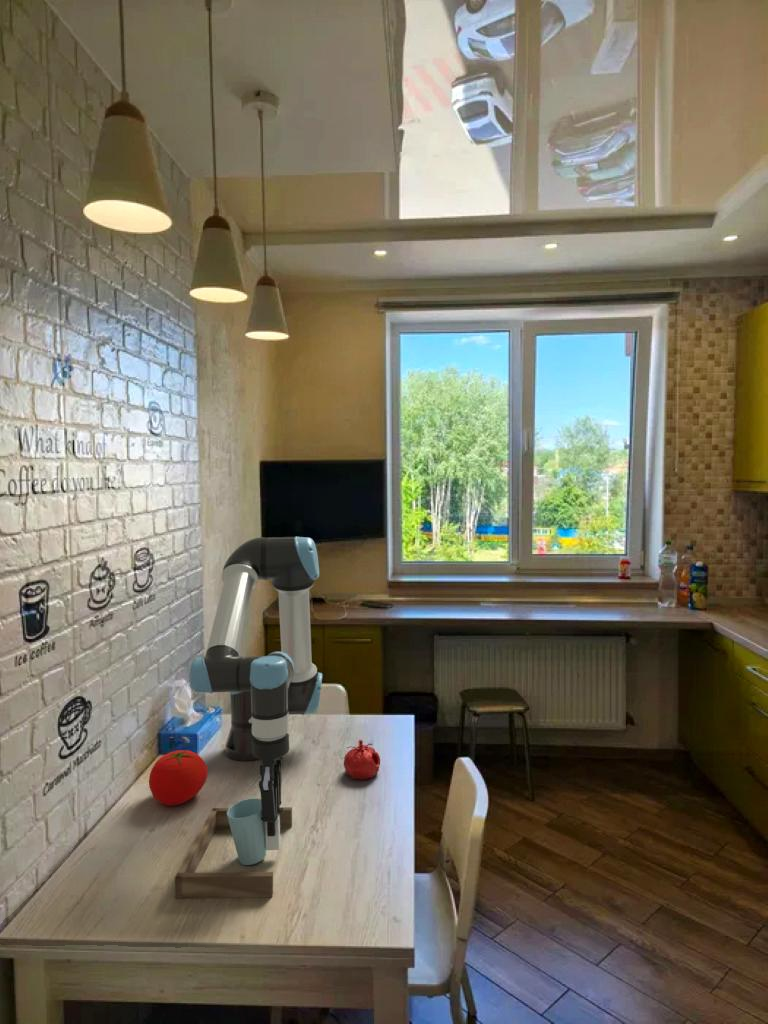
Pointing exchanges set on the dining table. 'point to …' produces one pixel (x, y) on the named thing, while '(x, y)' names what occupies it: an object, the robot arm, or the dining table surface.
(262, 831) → the cup
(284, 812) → the corral
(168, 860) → the dining table surface
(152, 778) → the tomato
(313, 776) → the dining table surface
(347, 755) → the pomegranate
